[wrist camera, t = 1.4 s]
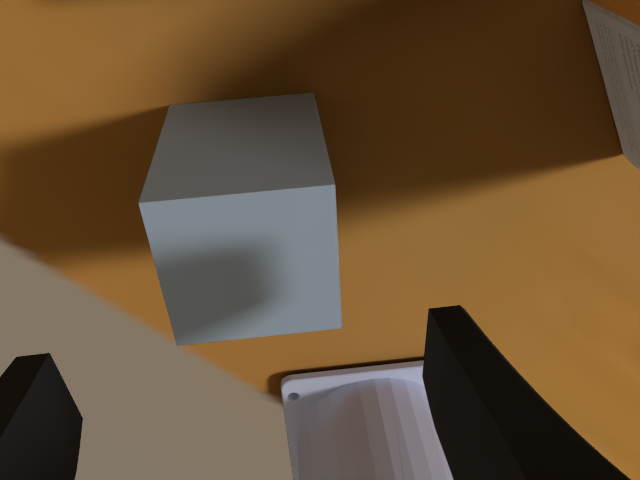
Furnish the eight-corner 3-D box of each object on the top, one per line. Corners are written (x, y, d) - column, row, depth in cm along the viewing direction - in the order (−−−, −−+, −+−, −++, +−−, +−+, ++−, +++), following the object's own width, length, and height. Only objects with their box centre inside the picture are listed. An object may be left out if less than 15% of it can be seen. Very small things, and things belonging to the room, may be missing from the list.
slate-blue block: (321, 213, 21) (342, 328, 16) (195, 225, 21) (176, 345, 16) (313, 92, 18) (335, 184, 13) (169, 104, 18) (138, 202, 13)
